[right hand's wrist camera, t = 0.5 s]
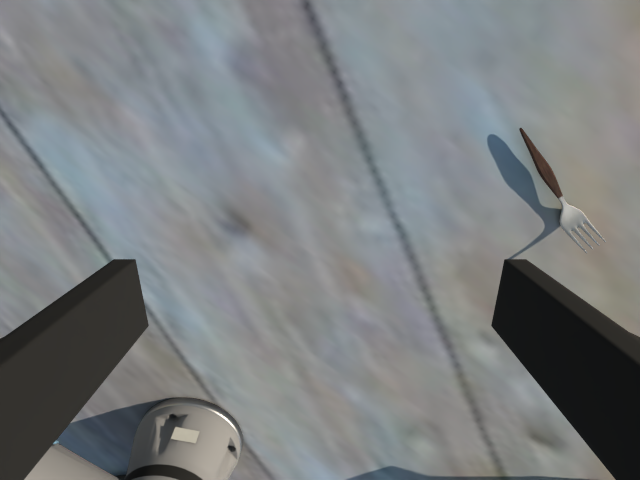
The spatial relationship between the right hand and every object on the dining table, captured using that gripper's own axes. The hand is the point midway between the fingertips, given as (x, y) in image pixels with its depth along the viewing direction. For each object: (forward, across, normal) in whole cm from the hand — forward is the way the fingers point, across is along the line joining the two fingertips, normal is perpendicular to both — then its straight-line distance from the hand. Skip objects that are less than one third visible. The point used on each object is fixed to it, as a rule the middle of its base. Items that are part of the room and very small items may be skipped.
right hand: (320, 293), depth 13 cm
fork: (+26, -25, +1) cm, 36 cm away
